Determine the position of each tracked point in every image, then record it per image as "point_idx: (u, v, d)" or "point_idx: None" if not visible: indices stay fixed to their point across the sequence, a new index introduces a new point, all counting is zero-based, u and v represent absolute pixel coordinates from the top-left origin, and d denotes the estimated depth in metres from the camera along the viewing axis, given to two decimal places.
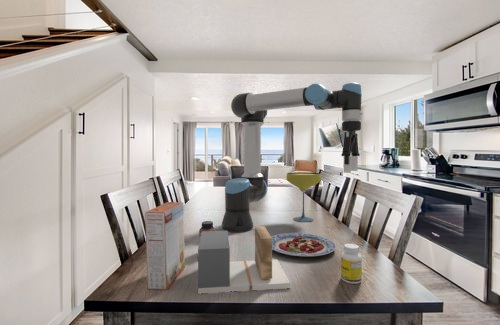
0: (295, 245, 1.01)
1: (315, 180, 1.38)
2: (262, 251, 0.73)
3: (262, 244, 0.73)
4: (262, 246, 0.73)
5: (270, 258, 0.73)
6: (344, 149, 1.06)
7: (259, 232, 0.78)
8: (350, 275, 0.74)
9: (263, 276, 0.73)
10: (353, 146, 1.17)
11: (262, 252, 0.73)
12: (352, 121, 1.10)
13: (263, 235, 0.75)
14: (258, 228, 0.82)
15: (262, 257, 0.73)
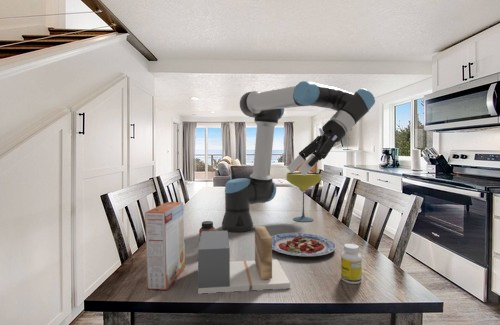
0: (295, 245, 1.01)
1: (315, 180, 1.38)
2: (262, 251, 0.73)
3: (262, 244, 0.73)
4: (262, 246, 0.73)
5: (270, 258, 0.73)
6: (323, 150, 0.82)
7: (259, 232, 0.78)
8: (350, 275, 0.74)
9: (263, 276, 0.73)
10: (312, 149, 0.96)
11: (262, 252, 0.73)
12: (343, 129, 0.89)
13: (263, 235, 0.75)
14: (258, 228, 0.82)
15: (262, 257, 0.73)
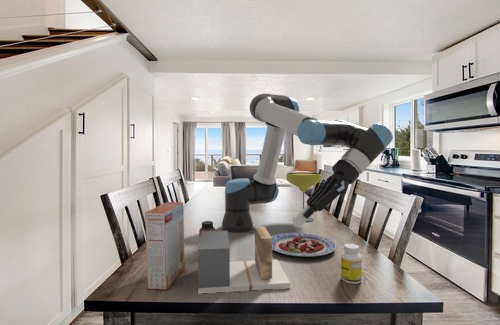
0: (295, 245, 1.01)
1: (315, 180, 1.38)
2: (262, 251, 0.73)
3: (262, 244, 0.73)
4: (262, 246, 0.73)
5: (270, 258, 0.73)
6: (320, 203, 0.76)
7: (259, 232, 0.78)
8: (350, 275, 0.74)
9: (263, 276, 0.73)
10: None
11: (262, 252, 0.73)
12: (356, 171, 0.78)
13: (263, 235, 0.75)
14: (258, 228, 0.82)
15: (262, 257, 0.73)
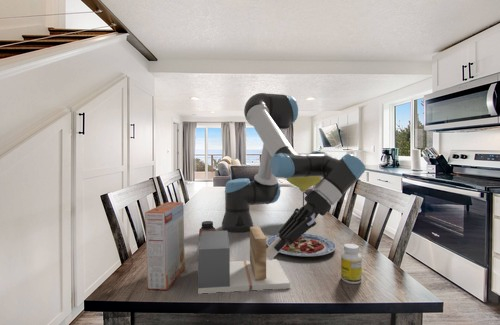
0: (295, 245, 1.01)
1: (315, 180, 1.38)
2: (256, 251, 0.72)
3: (256, 244, 0.72)
4: (256, 246, 0.72)
5: (264, 258, 0.73)
6: (290, 236, 0.75)
7: (253, 232, 0.78)
8: (350, 275, 0.74)
9: (258, 277, 0.73)
10: None
11: (256, 252, 0.72)
12: (328, 203, 0.77)
13: (257, 235, 0.75)
14: (253, 228, 0.82)
15: (256, 257, 0.72)
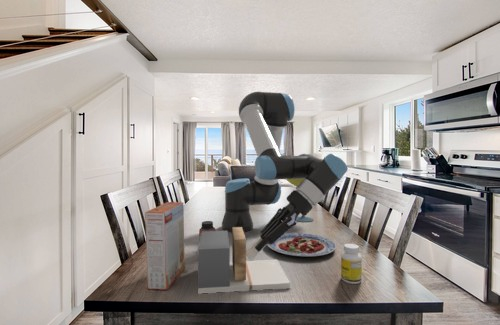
0: (295, 245, 1.01)
1: None
2: (236, 252, 0.72)
3: (236, 245, 0.72)
4: (236, 247, 0.72)
5: (244, 259, 0.72)
6: (271, 236, 0.75)
7: (235, 233, 0.77)
8: (350, 275, 0.74)
9: (237, 278, 0.72)
10: None
11: (236, 253, 0.72)
12: (309, 203, 0.77)
13: (237, 236, 0.74)
14: (235, 229, 0.81)
15: (236, 258, 0.72)
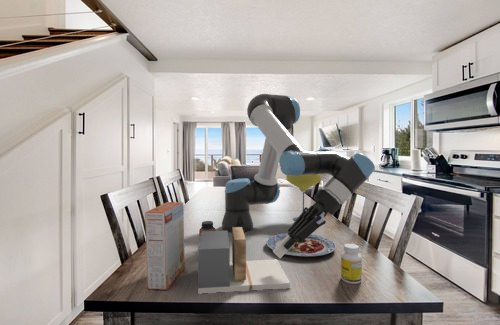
0: (295, 245, 1.01)
1: (315, 180, 1.38)
2: (236, 252, 0.72)
3: (236, 245, 0.72)
4: (236, 247, 0.72)
5: (244, 259, 0.72)
6: (300, 235, 0.76)
7: (234, 233, 0.77)
8: (350, 275, 0.74)
9: (237, 278, 0.72)
10: None
11: (236, 253, 0.72)
12: (337, 202, 0.77)
13: (237, 236, 0.74)
14: (235, 229, 0.81)
15: (236, 258, 0.72)
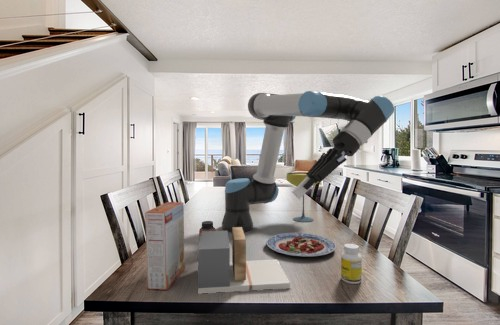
0: (295, 245, 1.01)
1: None
2: (236, 252, 0.72)
3: (236, 245, 0.72)
4: (236, 247, 0.72)
5: (244, 259, 0.72)
6: (320, 173, 0.76)
7: (234, 233, 0.77)
8: (350, 275, 0.74)
9: (237, 278, 0.72)
10: None
11: (236, 253, 0.72)
12: (357, 142, 0.77)
13: (237, 236, 0.74)
14: (235, 229, 0.81)
15: (236, 258, 0.72)
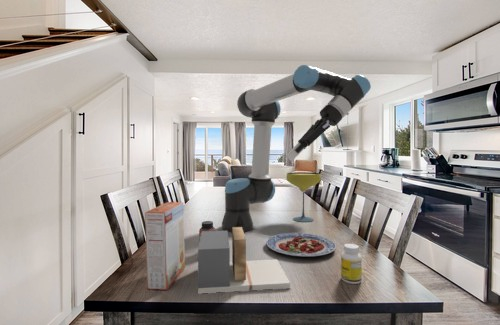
0: (295, 245, 1.01)
1: (315, 180, 1.38)
2: (236, 252, 0.72)
3: (236, 245, 0.72)
4: (236, 247, 0.72)
5: (244, 259, 0.72)
6: (309, 138, 0.91)
7: (234, 233, 0.77)
8: (350, 275, 0.74)
9: (237, 278, 0.72)
10: None
11: (236, 253, 0.72)
12: (339, 113, 0.93)
13: (237, 236, 0.74)
14: (235, 229, 0.81)
15: (236, 258, 0.72)
